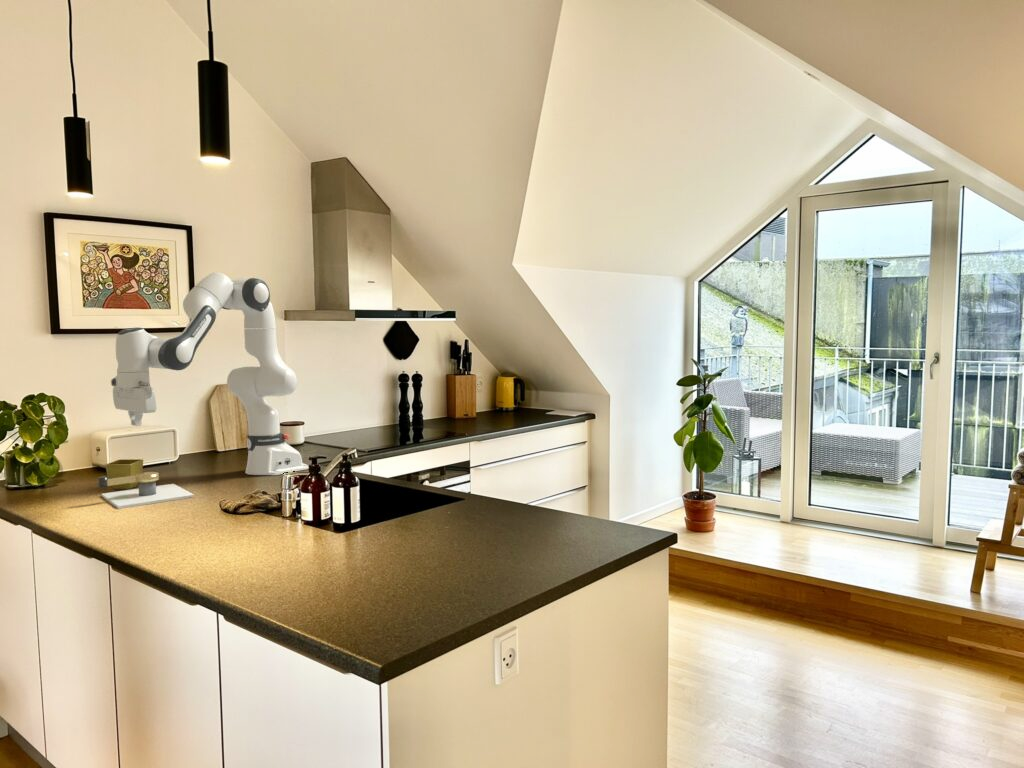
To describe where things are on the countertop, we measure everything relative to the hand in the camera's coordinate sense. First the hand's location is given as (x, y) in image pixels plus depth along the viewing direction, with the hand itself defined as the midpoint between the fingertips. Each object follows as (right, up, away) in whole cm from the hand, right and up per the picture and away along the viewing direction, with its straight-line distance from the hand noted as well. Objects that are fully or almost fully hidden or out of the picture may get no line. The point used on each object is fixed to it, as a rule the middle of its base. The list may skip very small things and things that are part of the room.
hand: (136, 425), depth 234 cm
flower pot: (-14, -23, +22) cm, 34 cm away
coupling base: (-1, -23, +9) cm, 25 cm away
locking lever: (-5, -18, +5) cm, 20 cm away
